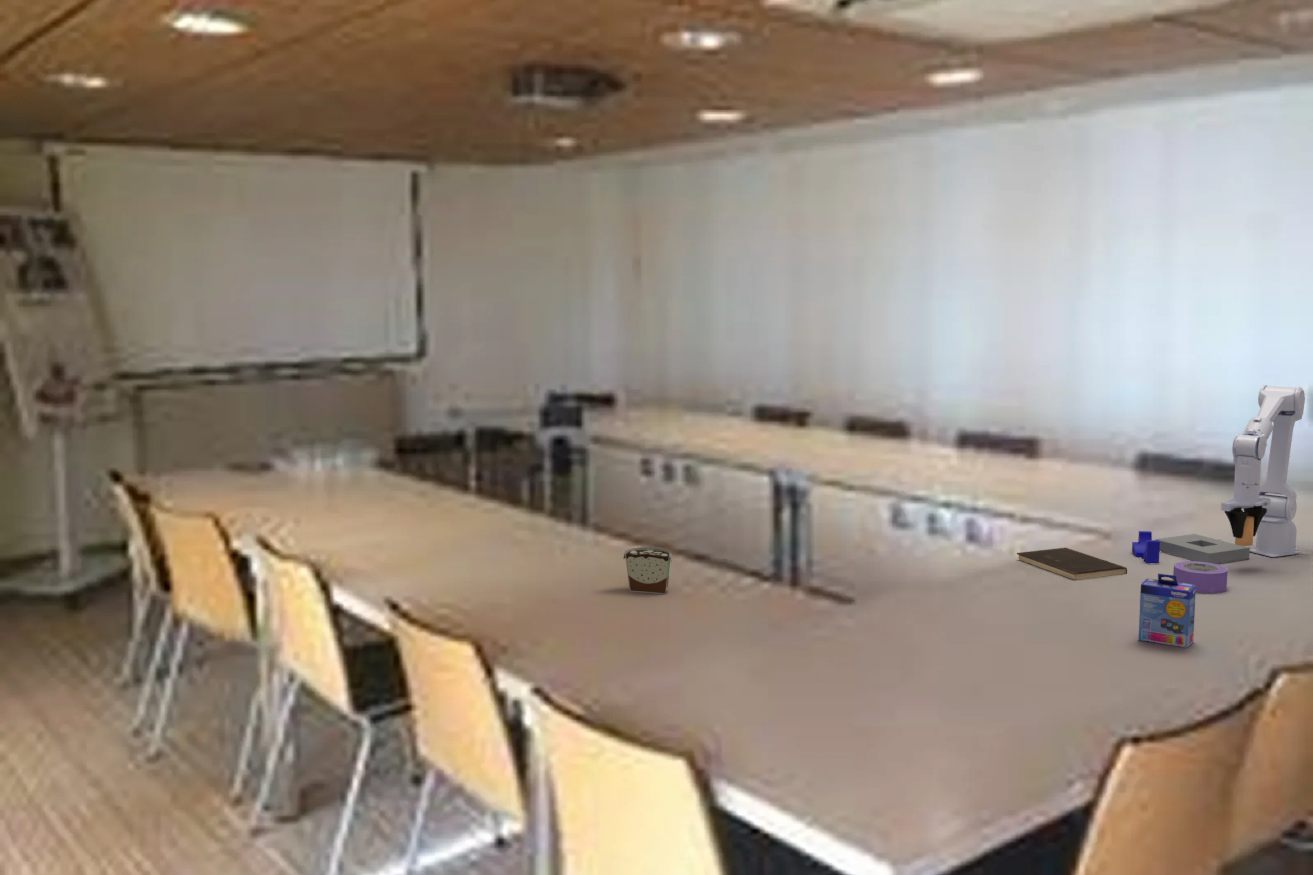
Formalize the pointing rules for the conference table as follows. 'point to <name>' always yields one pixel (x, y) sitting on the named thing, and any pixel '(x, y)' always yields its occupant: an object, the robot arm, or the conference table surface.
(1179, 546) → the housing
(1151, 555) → the cable clip
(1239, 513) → the robot arm
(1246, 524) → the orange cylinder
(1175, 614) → the ink cartridge box
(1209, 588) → the tape roll
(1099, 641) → the conference table surface
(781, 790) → the conference table surface
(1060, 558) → the hardcover book
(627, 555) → the food container
